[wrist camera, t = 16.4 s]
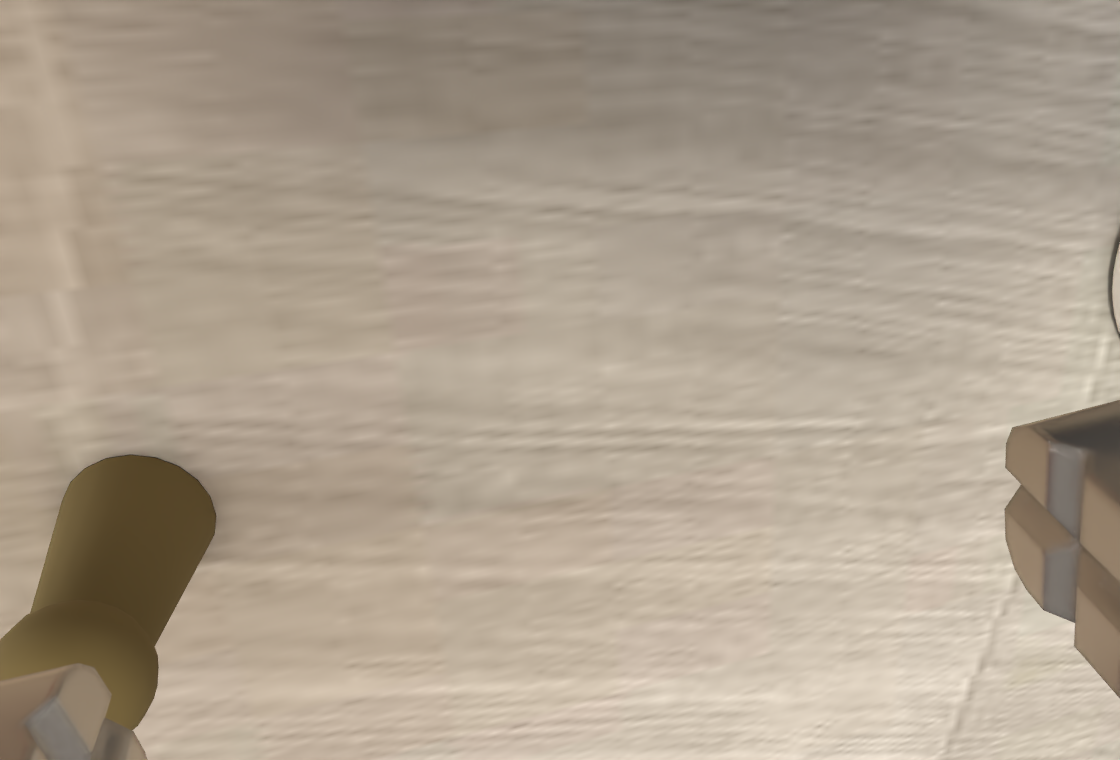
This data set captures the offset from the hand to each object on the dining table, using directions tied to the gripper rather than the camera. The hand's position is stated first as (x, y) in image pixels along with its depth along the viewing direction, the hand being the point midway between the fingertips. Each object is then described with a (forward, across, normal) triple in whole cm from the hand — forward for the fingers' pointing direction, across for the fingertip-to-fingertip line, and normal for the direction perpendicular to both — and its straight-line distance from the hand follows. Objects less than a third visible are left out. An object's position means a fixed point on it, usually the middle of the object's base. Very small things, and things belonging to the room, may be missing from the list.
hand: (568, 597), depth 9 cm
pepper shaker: (+29, +17, +15) cm, 37 cm away
